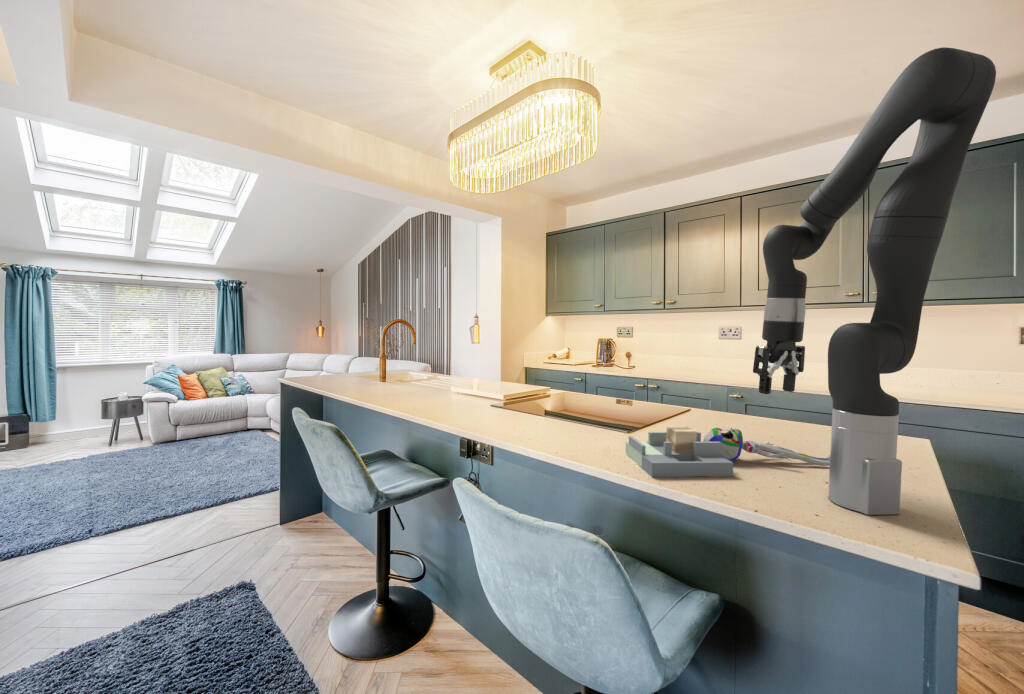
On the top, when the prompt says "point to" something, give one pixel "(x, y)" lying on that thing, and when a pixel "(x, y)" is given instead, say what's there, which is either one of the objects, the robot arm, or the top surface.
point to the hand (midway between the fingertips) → (776, 392)
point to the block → (681, 438)
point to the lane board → (678, 457)
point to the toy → (755, 447)
